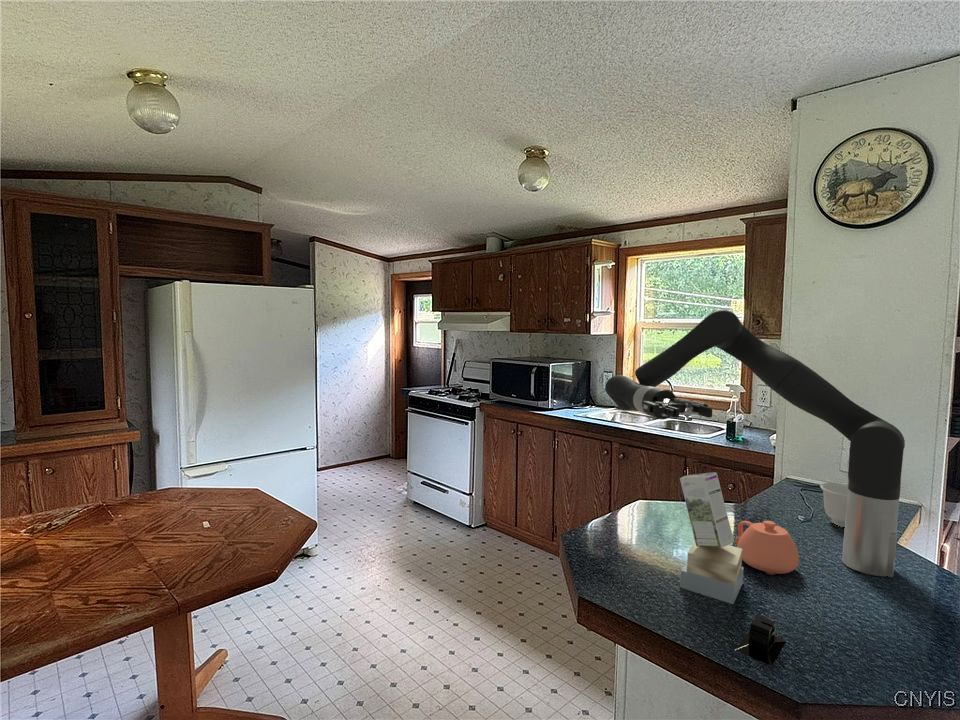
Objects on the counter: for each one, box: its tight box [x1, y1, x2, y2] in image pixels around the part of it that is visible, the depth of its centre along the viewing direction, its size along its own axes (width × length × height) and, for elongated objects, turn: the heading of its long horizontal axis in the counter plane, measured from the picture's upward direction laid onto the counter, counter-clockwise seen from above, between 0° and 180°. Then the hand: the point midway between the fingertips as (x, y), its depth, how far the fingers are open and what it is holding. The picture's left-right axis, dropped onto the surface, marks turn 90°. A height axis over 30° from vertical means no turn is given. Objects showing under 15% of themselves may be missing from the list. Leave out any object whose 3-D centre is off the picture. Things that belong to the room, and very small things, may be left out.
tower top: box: [686, 540, 743, 585], centre depth 105 cm, size 9×9×4 cm
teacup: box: [819, 482, 848, 528], centre depth 142 cm, size 12×15×10 cm
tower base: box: [679, 562, 744, 605], centre depth 106 cm, size 10×10×4 cm
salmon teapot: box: [734, 520, 800, 576], centre depth 116 cm, size 12×14×10 cm
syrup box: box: [679, 471, 735, 547], centre depth 107 cm, size 6×6×14 cm
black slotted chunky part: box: [734, 614, 787, 666], centre depth 86 cm, size 12×7×5 cm, turn 136°
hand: (694, 413), depth 115 cm, fingers open, 8 cm apart
